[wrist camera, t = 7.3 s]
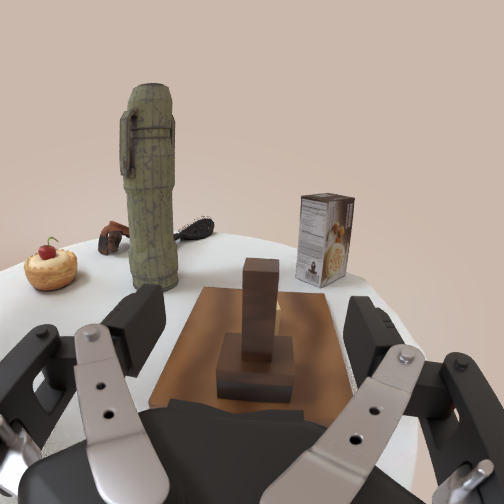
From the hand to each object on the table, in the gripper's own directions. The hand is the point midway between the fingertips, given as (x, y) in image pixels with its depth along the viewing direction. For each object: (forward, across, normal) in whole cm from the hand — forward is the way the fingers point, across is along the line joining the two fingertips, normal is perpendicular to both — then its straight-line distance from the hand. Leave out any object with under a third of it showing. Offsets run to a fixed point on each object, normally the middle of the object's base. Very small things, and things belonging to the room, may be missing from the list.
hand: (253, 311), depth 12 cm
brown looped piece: (+51, +37, +17) cm, 65 cm away
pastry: (+31, +42, +17) cm, 55 cm away
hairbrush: (+62, +22, +17) cm, 68 cm away
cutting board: (+20, 0, +17) cm, 26 cm away
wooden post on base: (+12, 0, +16) cm, 19 cm away
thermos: (+36, +20, +17) cm, 44 cm away
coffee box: (+43, -11, +17) cm, 47 cm away
